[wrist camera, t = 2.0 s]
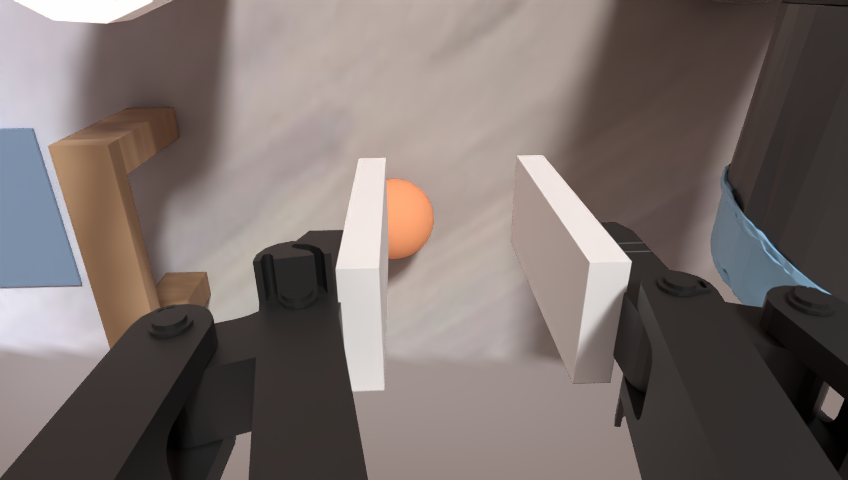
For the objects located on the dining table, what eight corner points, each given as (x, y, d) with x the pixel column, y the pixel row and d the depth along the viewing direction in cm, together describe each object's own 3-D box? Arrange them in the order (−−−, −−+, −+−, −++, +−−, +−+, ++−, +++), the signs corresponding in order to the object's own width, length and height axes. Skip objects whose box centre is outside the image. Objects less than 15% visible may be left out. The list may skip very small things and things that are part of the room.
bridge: (173, 107, 36) (107, 145, 28) (210, 294, 43) (166, 370, 34) (127, 108, 36) (48, 146, 28) (171, 295, 43) (117, 371, 34)
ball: (431, 167, 39) (436, 194, 34) (431, 237, 41) (436, 272, 36) (354, 168, 39) (348, 196, 34) (358, 238, 41) (353, 274, 36)
